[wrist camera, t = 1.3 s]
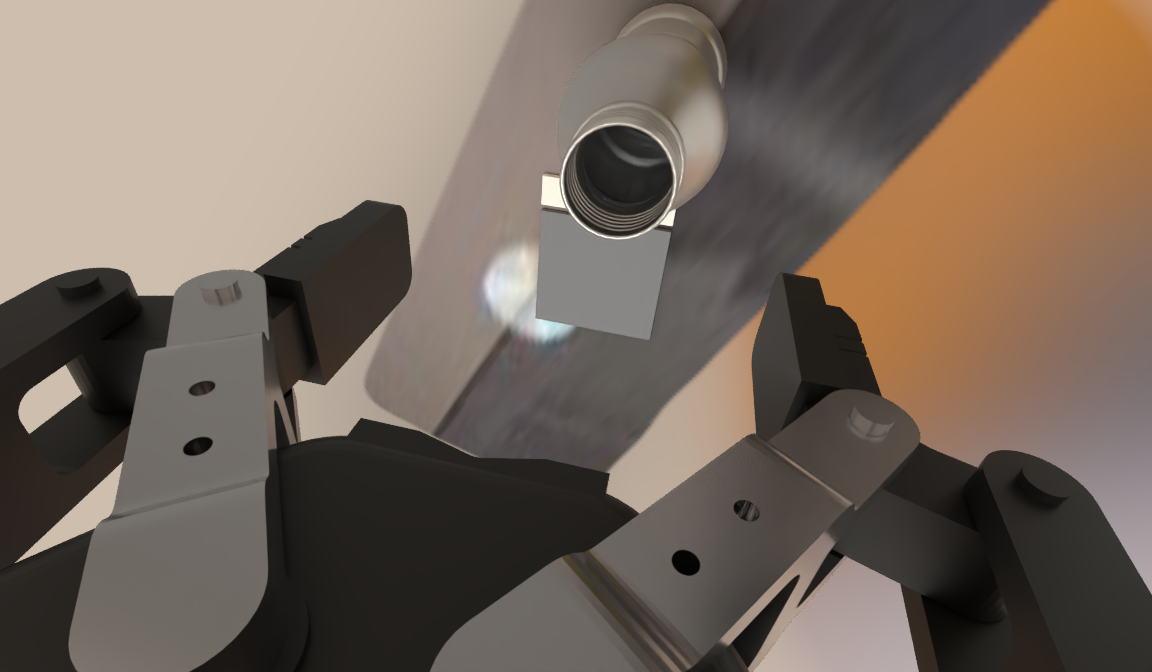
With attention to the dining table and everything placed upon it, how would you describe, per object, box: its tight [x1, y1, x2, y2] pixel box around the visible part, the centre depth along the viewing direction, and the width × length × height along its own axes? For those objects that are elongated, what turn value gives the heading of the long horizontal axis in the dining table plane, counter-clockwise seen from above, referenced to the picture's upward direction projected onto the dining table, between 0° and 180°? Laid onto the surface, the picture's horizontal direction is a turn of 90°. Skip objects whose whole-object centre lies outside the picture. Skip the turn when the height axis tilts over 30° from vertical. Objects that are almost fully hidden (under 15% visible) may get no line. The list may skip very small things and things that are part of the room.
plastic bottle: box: [556, 3, 728, 241], centre depth 25 cm, size 6×7×20 cm
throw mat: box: [536, 173, 676, 340], centre depth 41 cm, size 12×9×1 cm
